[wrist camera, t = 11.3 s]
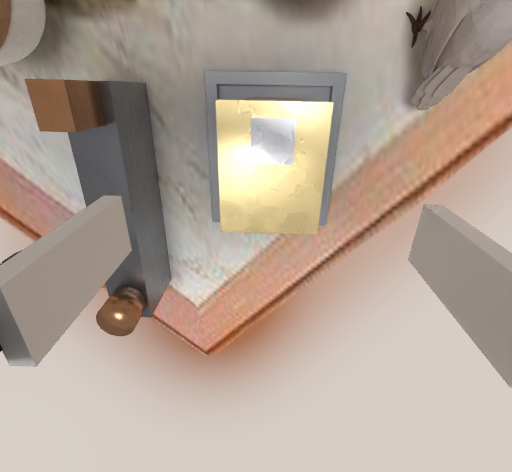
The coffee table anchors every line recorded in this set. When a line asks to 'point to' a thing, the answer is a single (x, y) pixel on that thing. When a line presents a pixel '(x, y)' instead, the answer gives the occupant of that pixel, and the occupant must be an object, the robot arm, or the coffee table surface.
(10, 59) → the lidded jar
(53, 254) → the robot arm
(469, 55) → the bird
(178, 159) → the coffee table surface
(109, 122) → the plane
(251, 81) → the tray
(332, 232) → the coffee table surface
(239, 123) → the lever cap
